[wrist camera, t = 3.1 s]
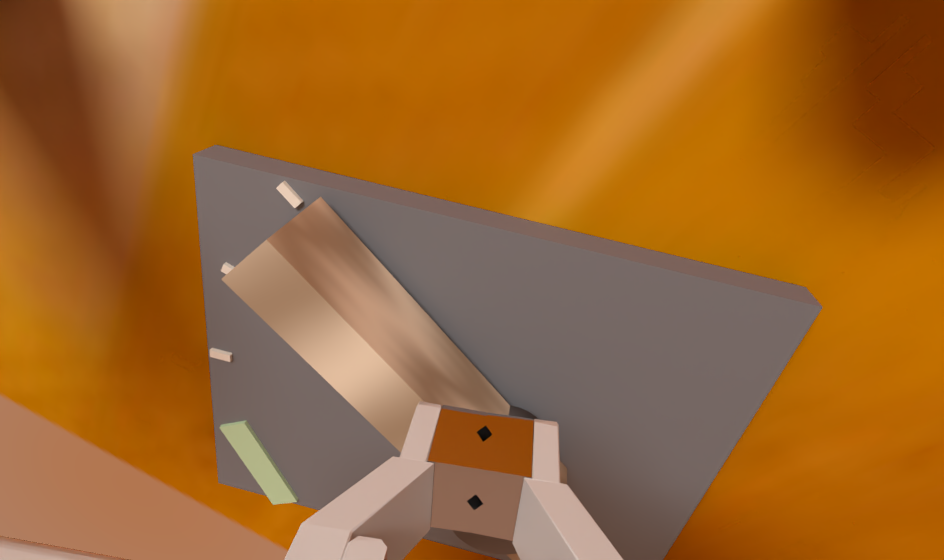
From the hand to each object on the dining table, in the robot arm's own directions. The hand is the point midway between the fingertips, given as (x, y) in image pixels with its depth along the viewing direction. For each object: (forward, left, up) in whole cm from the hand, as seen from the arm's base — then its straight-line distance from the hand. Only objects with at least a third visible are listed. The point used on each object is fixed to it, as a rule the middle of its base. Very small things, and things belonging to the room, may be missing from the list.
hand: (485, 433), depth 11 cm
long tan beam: (+2, +6, -9) cm, 11 cm away
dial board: (+1, +9, -11) cm, 14 cm away
